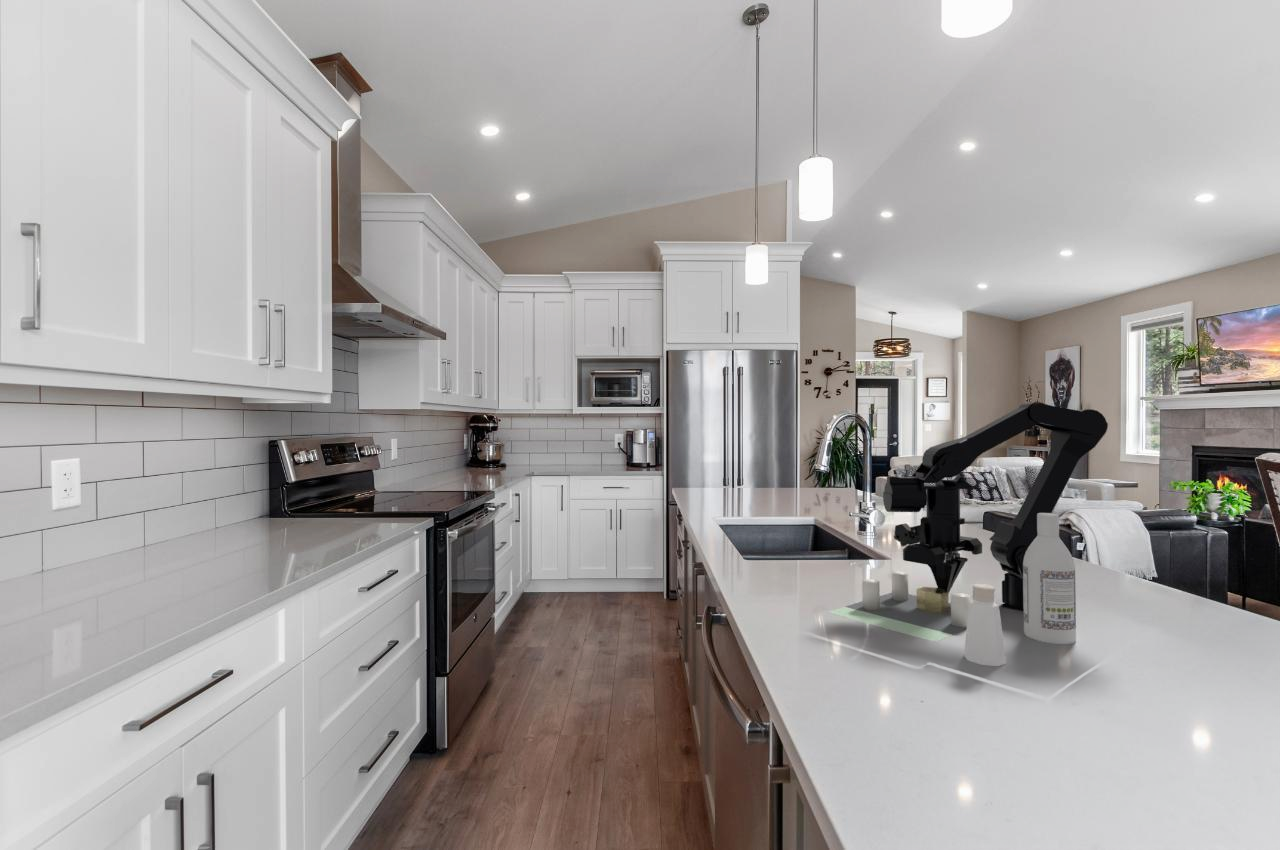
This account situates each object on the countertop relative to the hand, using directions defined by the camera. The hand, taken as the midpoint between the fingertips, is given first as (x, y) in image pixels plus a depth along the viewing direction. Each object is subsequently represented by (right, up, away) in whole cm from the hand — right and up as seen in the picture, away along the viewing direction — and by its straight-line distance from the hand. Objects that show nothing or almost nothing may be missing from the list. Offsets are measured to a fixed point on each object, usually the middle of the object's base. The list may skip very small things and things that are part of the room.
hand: (943, 595), depth 116 cm
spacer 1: (-14, -2, -2) cm, 15 cm away
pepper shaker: (-8, -2, -27) cm, 28 cm away
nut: (-3, -2, -3) cm, 5 cm away
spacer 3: (-3, -2, -12) cm, 12 cm away
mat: (-8, -2, -5) cm, 10 cm away
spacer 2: (-6, -2, +5) cm, 8 cm away
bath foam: (+8, -2, -18) cm, 20 cm away
